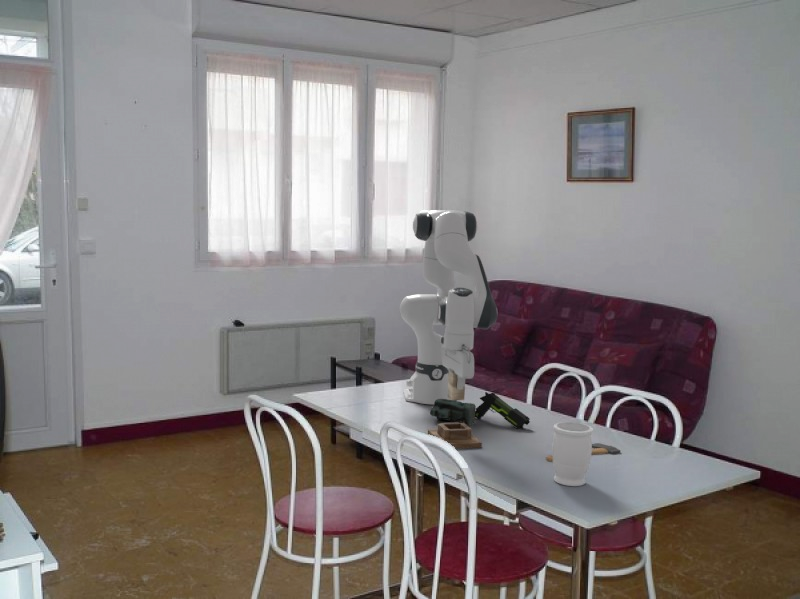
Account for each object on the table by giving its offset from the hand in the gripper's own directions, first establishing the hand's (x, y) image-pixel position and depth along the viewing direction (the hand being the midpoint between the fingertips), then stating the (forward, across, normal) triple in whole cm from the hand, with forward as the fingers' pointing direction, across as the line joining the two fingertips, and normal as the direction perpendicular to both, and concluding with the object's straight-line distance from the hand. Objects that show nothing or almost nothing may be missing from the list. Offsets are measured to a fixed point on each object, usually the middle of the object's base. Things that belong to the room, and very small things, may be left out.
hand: (456, 387), depth 255 cm
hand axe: (+18, -17, -33) cm, 41 cm away
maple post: (+4, 0, 0) cm, 4 cm away
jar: (+17, -40, -19) cm, 47 cm away
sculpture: (+17, +22, -8) cm, 29 cm away
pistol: (+17, +17, -22) cm, 33 cm away
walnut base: (+17, 0, 0) cm, 17 cm away
